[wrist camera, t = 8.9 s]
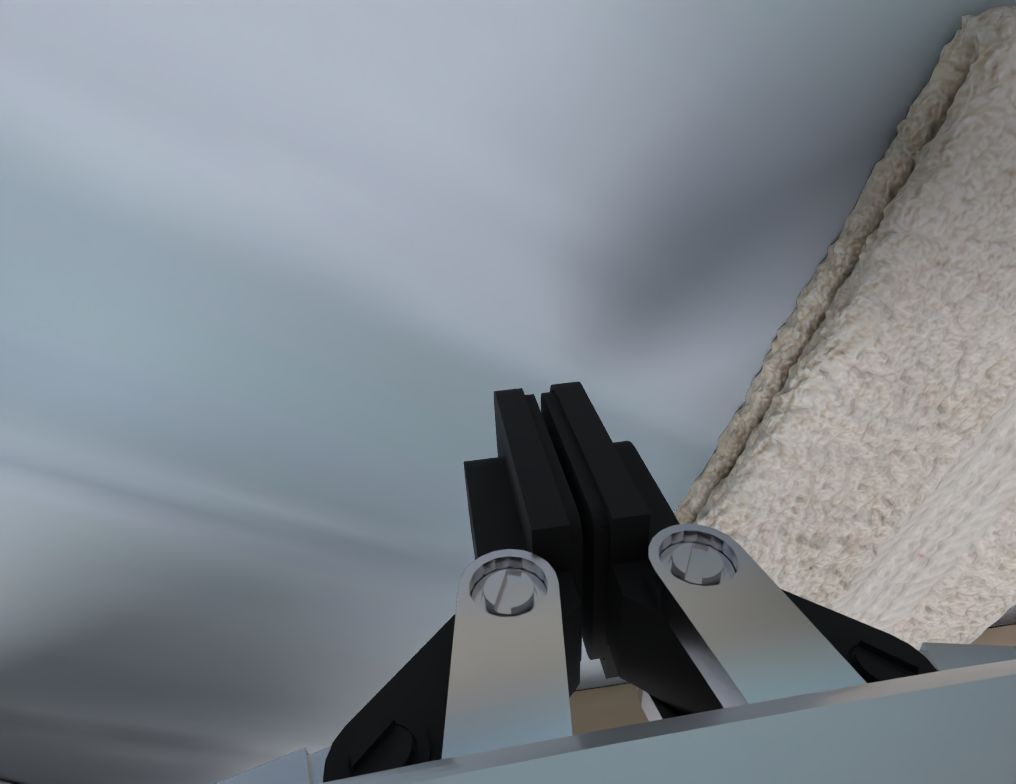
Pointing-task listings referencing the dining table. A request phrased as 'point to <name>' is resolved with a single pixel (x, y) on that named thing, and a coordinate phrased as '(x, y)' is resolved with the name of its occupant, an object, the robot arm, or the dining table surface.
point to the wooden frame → (625, 709)
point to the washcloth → (897, 380)
